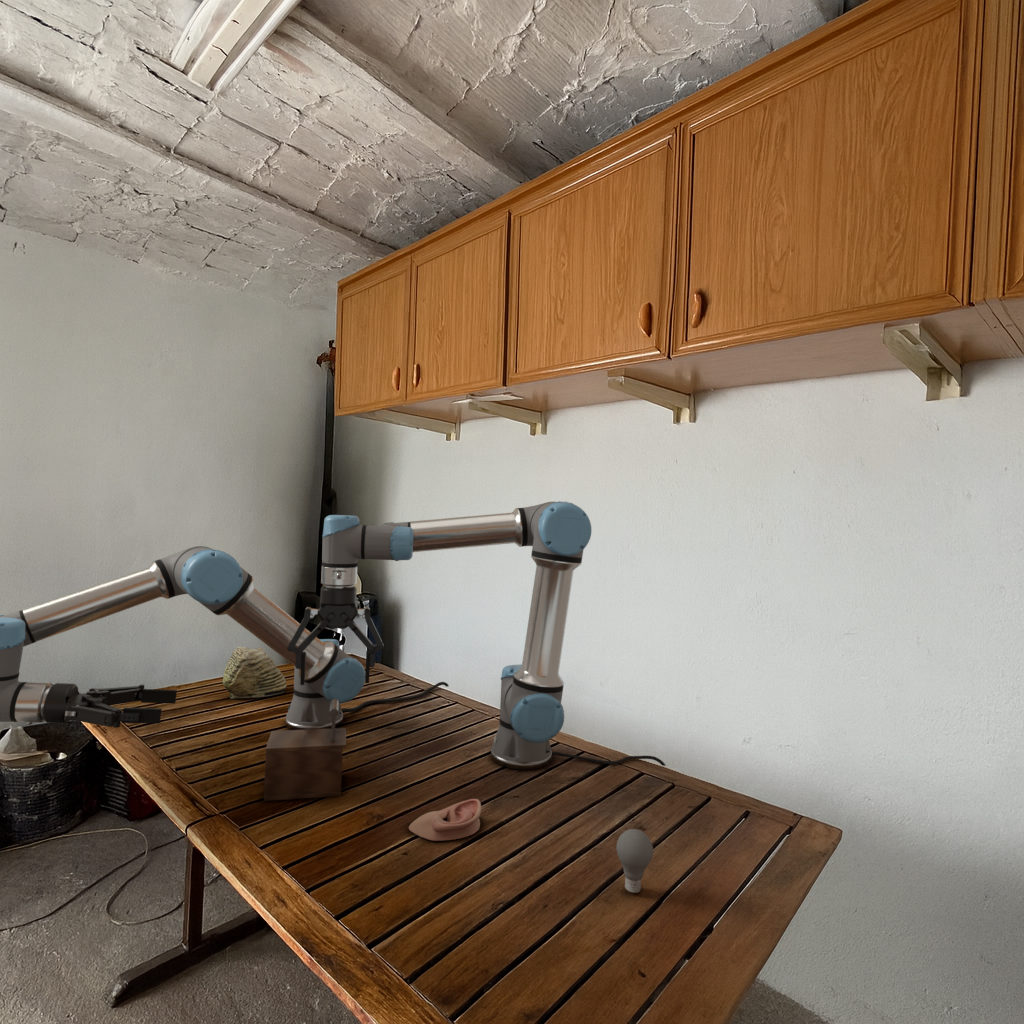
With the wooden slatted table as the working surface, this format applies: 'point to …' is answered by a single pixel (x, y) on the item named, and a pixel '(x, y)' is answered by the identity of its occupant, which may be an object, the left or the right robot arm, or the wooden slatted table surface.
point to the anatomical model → (449, 822)
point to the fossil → (252, 674)
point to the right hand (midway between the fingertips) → (335, 682)
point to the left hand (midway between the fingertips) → (168, 705)
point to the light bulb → (634, 857)
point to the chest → (302, 774)
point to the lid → (309, 737)
